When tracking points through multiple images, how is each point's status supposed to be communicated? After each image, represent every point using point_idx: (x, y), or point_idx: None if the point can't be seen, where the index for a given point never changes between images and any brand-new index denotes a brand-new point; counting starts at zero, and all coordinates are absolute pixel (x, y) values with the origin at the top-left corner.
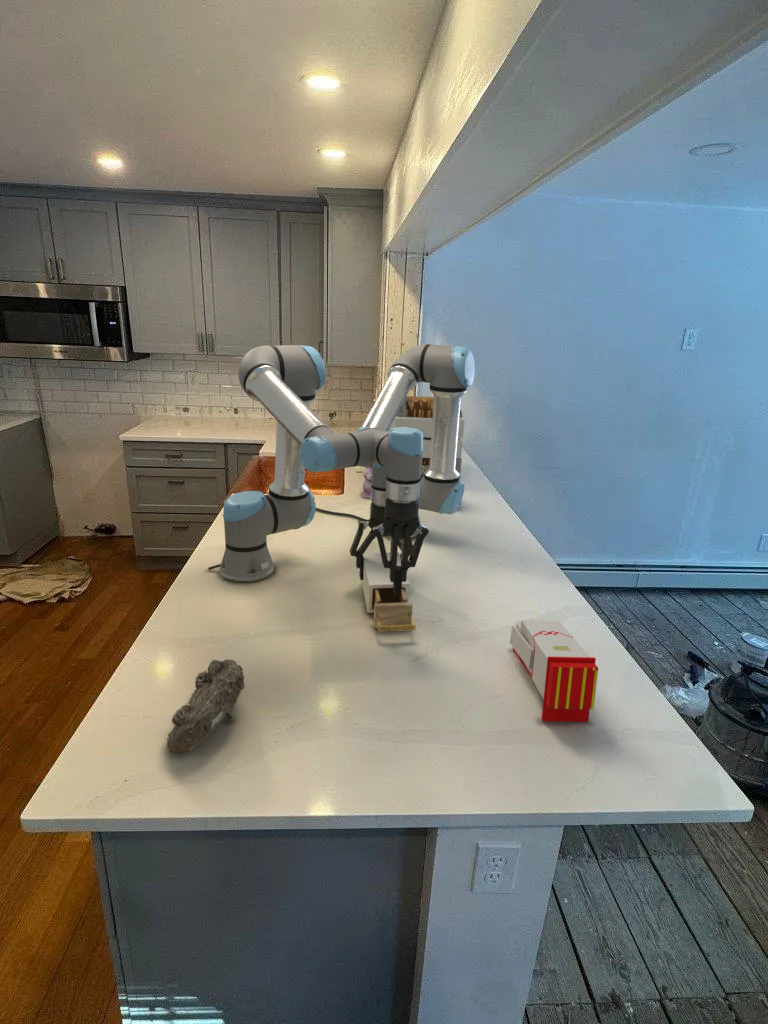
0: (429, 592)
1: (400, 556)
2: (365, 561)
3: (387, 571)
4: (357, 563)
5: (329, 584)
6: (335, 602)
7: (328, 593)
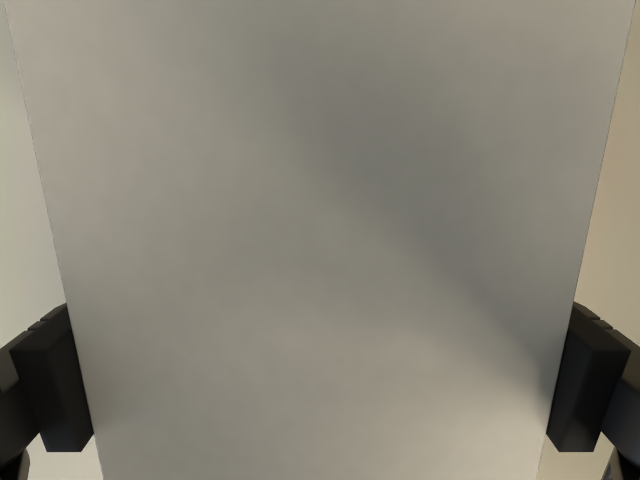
0: (25, 183)
1: (86, 408)
2: (552, 314)
3: (294, 9)
4: (602, 326)
5: (590, 308)
6: (633, 90)
7: (632, 209)
